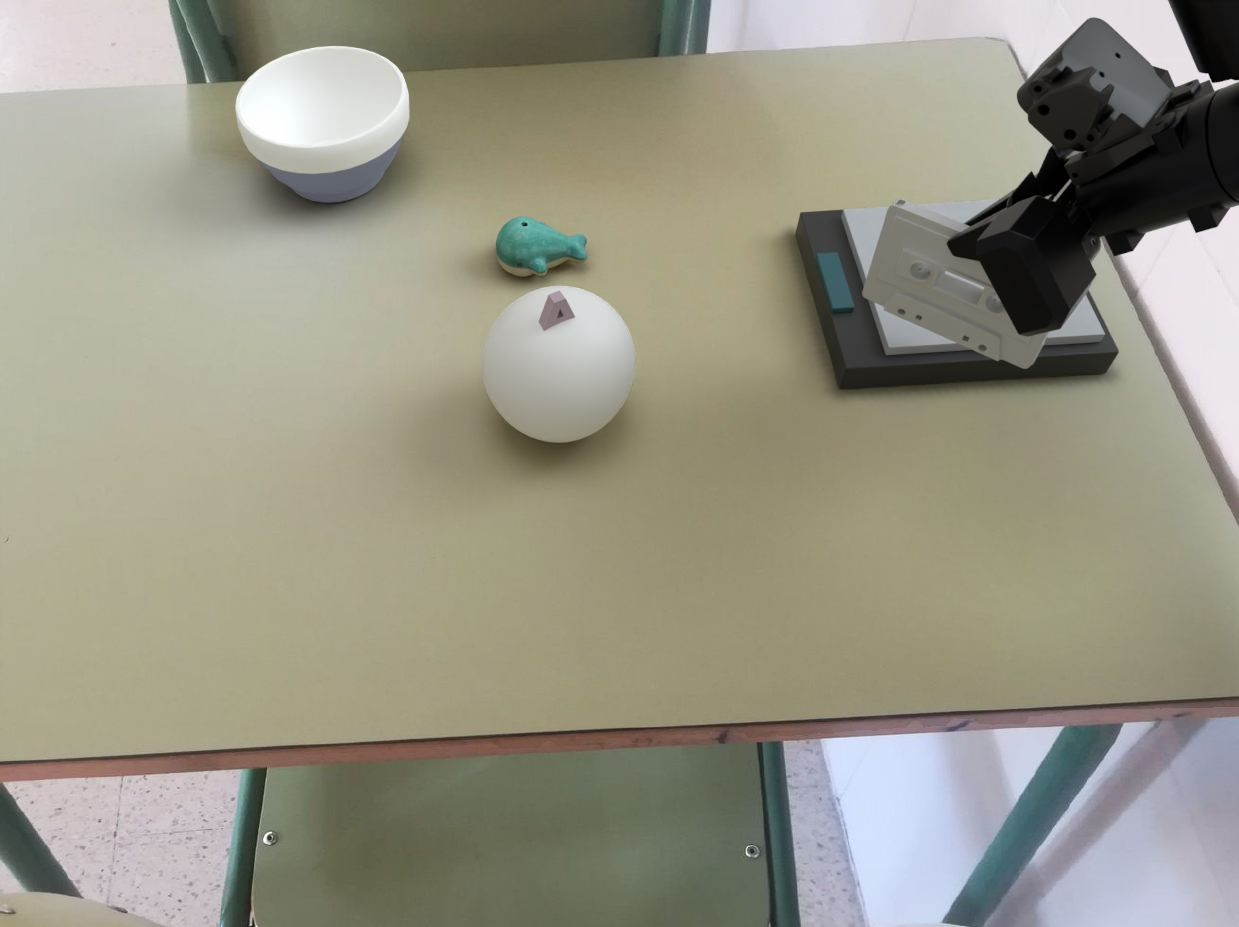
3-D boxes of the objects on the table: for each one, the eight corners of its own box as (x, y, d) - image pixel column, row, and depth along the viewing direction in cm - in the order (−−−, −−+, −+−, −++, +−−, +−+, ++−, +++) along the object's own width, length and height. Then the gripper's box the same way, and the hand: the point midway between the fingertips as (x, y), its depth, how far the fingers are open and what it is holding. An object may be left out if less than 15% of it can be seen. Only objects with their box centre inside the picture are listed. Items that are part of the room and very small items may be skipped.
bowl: (427, 213, 89) (417, 134, 83) (258, 238, 89) (235, 160, 82) (408, 113, 97) (397, 34, 91) (252, 136, 97) (231, 58, 90)
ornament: (566, 494, 72) (567, 372, 62) (459, 421, 76) (444, 296, 66) (658, 408, 76) (673, 279, 66) (551, 343, 80) (550, 213, 70)
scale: (1032, 218, 84) (1046, 187, 82) (1106, 373, 75) (1125, 343, 73) (794, 234, 85) (802, 203, 83) (839, 389, 76) (848, 360, 73)
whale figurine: (498, 237, 87) (496, 199, 84) (587, 237, 86) (588, 198, 83) (495, 286, 84) (492, 248, 81) (586, 286, 83) (588, 247, 80)
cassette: (1037, 358, 68) (1086, 266, 62) (1025, 376, 68) (1073, 283, 61) (869, 285, 73) (898, 192, 67) (856, 300, 72) (884, 207, 66)
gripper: (1242, -88, 53) (966, 54, 66) (1090, 94, 46) (815, 211, 59) (1319, 106, 56) (1041, 204, 70) (1188, 304, 49) (907, 369, 63)
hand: (955, 241), depth 65 cm, fingers closed on cassette, 1 cm apart
